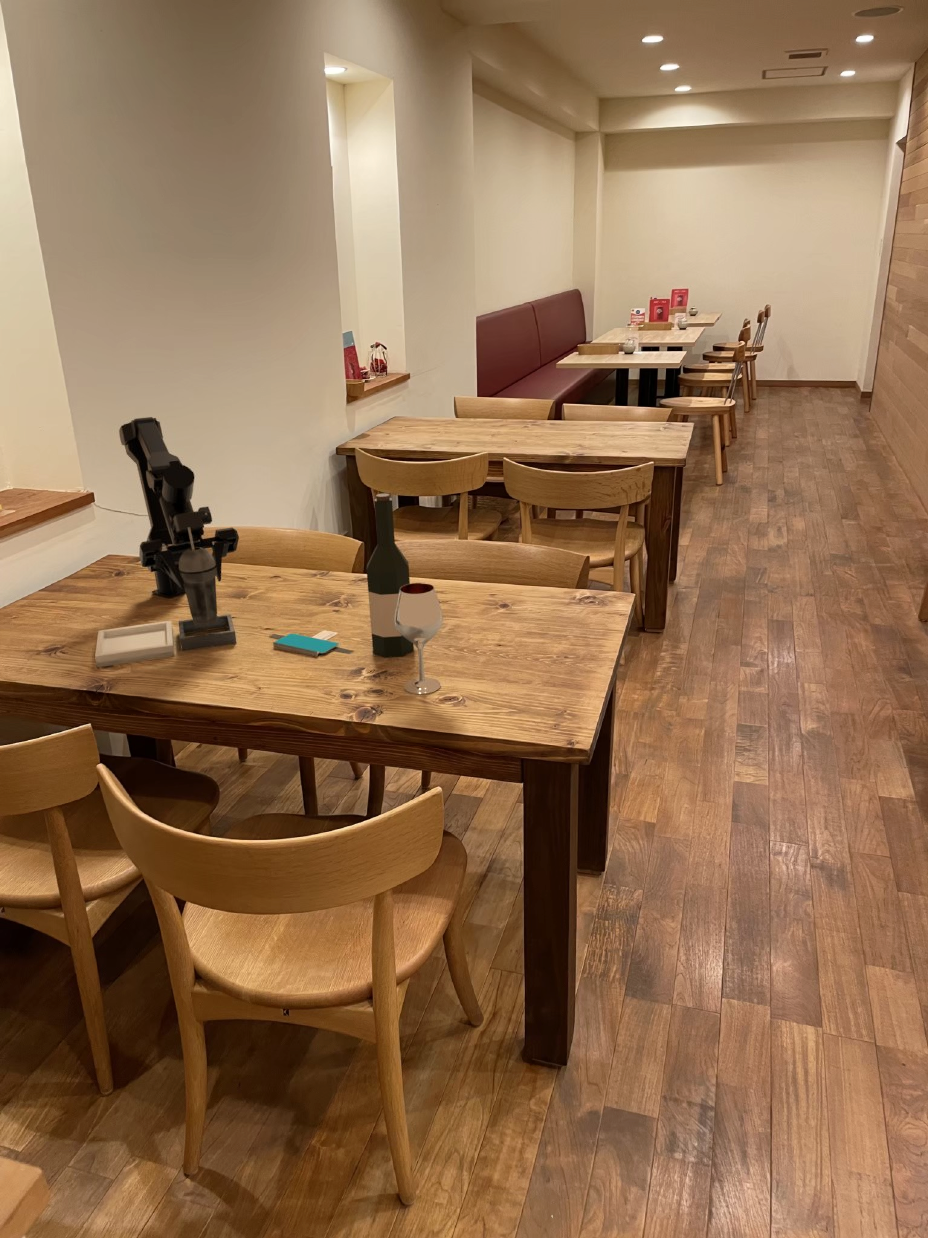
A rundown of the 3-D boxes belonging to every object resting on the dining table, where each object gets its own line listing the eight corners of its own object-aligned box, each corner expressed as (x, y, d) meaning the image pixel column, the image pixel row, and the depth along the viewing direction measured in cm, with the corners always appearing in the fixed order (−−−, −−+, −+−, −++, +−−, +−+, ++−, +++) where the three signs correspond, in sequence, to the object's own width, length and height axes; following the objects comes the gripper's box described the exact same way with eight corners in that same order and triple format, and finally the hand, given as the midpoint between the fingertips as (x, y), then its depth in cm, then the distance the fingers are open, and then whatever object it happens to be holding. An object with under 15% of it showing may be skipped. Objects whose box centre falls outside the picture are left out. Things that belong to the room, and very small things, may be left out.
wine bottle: (381, 661, 166) (369, 502, 155) (365, 646, 173) (352, 493, 162) (422, 652, 170) (413, 496, 159) (404, 637, 177) (394, 487, 166)
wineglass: (398, 678, 159) (392, 581, 153) (444, 675, 160) (439, 579, 153) (399, 698, 151) (392, 598, 145) (447, 695, 152) (442, 595, 145)
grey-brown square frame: (181, 651, 174) (180, 639, 173) (180, 632, 183) (178, 621, 182) (236, 643, 177) (234, 631, 176) (232, 625, 186) (230, 613, 185)
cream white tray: (97, 667, 168) (94, 656, 167) (100, 640, 181) (98, 630, 180) (174, 655, 172) (172, 645, 171) (173, 630, 185) (171, 620, 184)
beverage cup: (229, 616, 182) (216, 520, 175) (216, 629, 175) (202, 530, 168) (194, 615, 183) (180, 520, 175) (180, 629, 176) (165, 531, 169)
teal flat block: (372, 643, 176) (371, 635, 176) (335, 665, 167) (334, 657, 166) (293, 627, 186) (292, 619, 185) (253, 647, 176) (252, 639, 176)
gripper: (132, 501, 169) (153, 572, 164) (230, 487, 177) (253, 555, 172) (131, 532, 178) (151, 600, 173) (224, 517, 186) (246, 582, 182)
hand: (201, 583), depth 175 cm, fingers closed on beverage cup, 7 cm apart
